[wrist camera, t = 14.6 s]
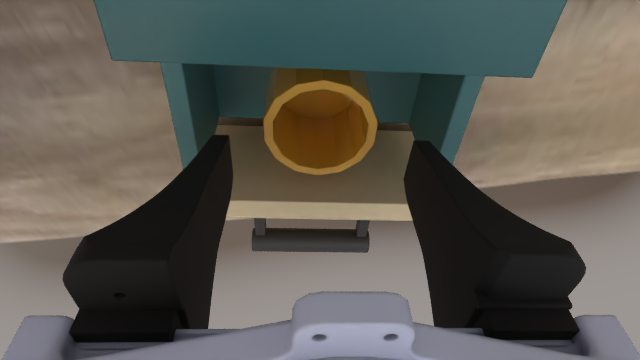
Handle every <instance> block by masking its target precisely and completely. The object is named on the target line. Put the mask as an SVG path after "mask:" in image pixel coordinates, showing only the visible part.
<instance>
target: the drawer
mask: <svg viewBox="0 0 640 360" xmlns="http://www.w3.org/2000/svg"><path fill="white" fill-rule="evenodd" d="M160 64H161V69H162V74H163V78H164V83H165V87H166V92H167V97H168V101H169V106H170V110H171V115H172V120H173V124H174V129H175V133H176V138H177V142H178V147H179V152H180V156H181V161H182V165H183V170H184V169H185V167H186V166H187V165H188V164H189V163H190V162H191V161H192V159H193V158H194V157H195V156H196V155H197V154H198V152H199V151H200V150H201V149H202V147H203V146H204V145H205V143H206V142H207V141H208V139H209V138H210V137H211V136H212V135H229V140H230V149H231V158H232V167H233V184H232V192H231V199H230V203H229V207H228V211H227V215H226V217H230V218H254V222H255V228H253V232H252V250H253V251H285V252H288V251H289V252H291V251H292V252H364V253H365V252H368V250H369V232H368V226H369V221H370V220H399V221H413V220H412V217H411V213H410V210H409V207H408V203H407V199H406V194H405V187H404V180H403V179H404V175H405V171H406V167H407V164H408V160H409V156H410V152H411V149H412V145H413V141H414V140H421V141H430V142H431V143H432V144H433V145H434V146H435V147H436V148H437V149H438V151H439V152H440V153H441V154H442V155H443V156H444V157H445V158H446V159H447V160H448V161H449V162H450V163H451V164H453V162H454V159H455V156H456V153H457V151H458V148H459V145H460V142H461V140H462V137H463V134H464V131H465V129H466V126H467V123H468V120H469V118H470V115H471V112H472V109H473V107H474V104H475V101H476V98H477V96H478V93H479V90H480V87H481V85H482V82H483V79H484V76H475V75H451V74H427V73H403V72H379V71H365V73H366V76H367V80H368V84H369V88H370V92H371V96H372V101H373V105H374V109H375V113H376V117H377V121H378V122H386V123H409V125H410V128H411V130H412V131H386V130H377V131H376V137H375V142H374V145H373V146H372V147H371V149H370V150H369V151H368V152H367V154H366V155H365V156H364V157H363V159H362V160H361V161H360V162H358V163H356V164H354V165H353V166H351V167H349V168H347V169H345V170H343V171H341V172H337V173H331V174H324V175H313V174H307V173H302V172H297V171H295V170H292V169H291V168H289V167H288V166H286V165H284V164H283V163H281V162H280V161H278V160H277V159H276V158H275V157H274V155H273V154H272V152H271V151H270V149H269V147H268V146H267V144H266V143H265V140H264V127H262V126H231V125H217V124H218V121H219V117H236V118H264V111H265V104H266V96H267V88H268V80H269V74H270V71H271V67H258V66H234V65H210V64H186V63H162V62H160ZM266 218H286V219H289V218H290V219H344V220H346V219H347V220H357V225H356V229H299V228H298V229H297V228H266Z"/></svg>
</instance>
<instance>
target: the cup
mask: <svg viewBox="0 0 640 360" xmlns="http://www.w3.org/2000/svg"><path fill="white" fill-rule="evenodd" d="M263 124H264V140H265V143H266V144H267V146H268V147H269V149H270V151H271V152H272V154H273V155H274V157H275V158H276V159H277V160H278V161H280V162H281V163H283V164H284V165H286V166H288V167H289V168H291V169H292V170H295V171H297V172H302V173H307V174H313V175H324V174H331V173H337V172H341V171H343V170H345V169H347V168H349V167H351V166H353V165H354V164H356V163H358V162H360V161H361V160H362V159H363V157H364V156H365V155H366V154H367V152H368V151H369V150H370V149H371V147H372V146H373V145H374V142H375V137H376V131H377V126H378V121H377V117H376V113H375V109H374V105H373V101H372V96H371V92H370V88H369V84H368V80H367V76H366V73H365V71H355V70H330V69H306V68H282V67H271V71H270V74H269V80H268V88H267V96H266V104H265V111H264V119H263Z"/></svg>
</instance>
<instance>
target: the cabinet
mask: <svg viewBox="0 0 640 360" xmlns="http://www.w3.org/2000/svg"><path fill="white" fill-rule="evenodd" d="M566 2H567V0H94V3H95V6H96V9H97V13H98V16H99V19H100V23H101V26H102V29H103V33H104V36H105V39H106V42H107V46H108V49H109V52H110V56H111V59H112V60H114V61H138V62H162V63H186V64H210V65H234V66H258V67H282V68H306V69H330V70H355V71H379V72H403V73H427V74H451V75H475V76H499V77H523V78H532V77H533V75H534V73H535V71H536V68H537V66H538V64H539V62H540V60H541V57H542V55H543V53H544V51H545V49H546V46H547V44H548V42H549V40H550V37H551V35H552V33H553V31H554V29H555V26H556V24H557V22H558V20H559V18H560V15H561V13H562V11H563V9H564V6H565V4H566Z"/></svg>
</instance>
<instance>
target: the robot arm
mask: <svg viewBox="0 0 640 360" xmlns="http://www.w3.org/2000/svg"><path fill="white" fill-rule="evenodd" d="M403 180H404V187H405V194H406V199H407V203H408V207H409V210H410V213H411V217H412V220H413V223H414V226H415V229H416V233H417V236H418V239H419V242H420V246H421V249H422V253H423V258H424V263H425V269H426V274H427V280H428V286H429V291H430V299H431V306H432V313H433V320H434V326H430V325H425V324H420V323H415V322H413V321H412V317H411V313H410V308H409V303H408V300H406V299H405V298H403V297H402V296H401V295H399V294H396V293H389V292H317V293H310V294H308V295H305V296H304V297H302V298H300V299H299V300H297V301H296V303H295V305H294V307H293V315H292V320H287V321H281V322H277V323H271V324H265V325H260V326H255V327H250V328H245V329H208V324H209V315H210V306H211V296H212V288H213V280H214V273H215V265H216V258H217V252H218V247H219V242H220V238H221V235H222V231H223V227H224V223H225V219H226V215H227V211H228V207H229V203H230V199H231V192H232V184H233V167H232V158H231V149H230V140H229V135H212V136H211V137H210V138H209V139H208V141H207V142H206V143H205V145H204V146H203V147H202V149H201V150H200V151H199V152H198V154H197V155H196V156H195V157H194V158H193V159H192V161H191V162H190V163H189V164H188V165H187V166H186V167H185V169H184V170H183V171H182V172H181V173H180V174H179V175H178V176H177V177H176V178H175V179H174V180H173V181H172V182H171V183H170V184H169V185H167V186H166V187H165V188H164V189H163V190H162V191H161V192H159V193H158V194H157V195H156V196H154V197H153V198H152V199H150V200H149V201H148V202H146V203H145V204H143V205H142V206H140V207H139V208H138V209H136V210H135V211H133V212H131V213H130V214H128V215H126V216H125V217H123V218H121V219H120V220H118V221H116V222H114V223H112V224H110V225H108V226H106V227H104V228H102V229H100V230H98V231H96V232H94V233H92V234H90V235H87V236H85V237H84V238H83V240H82V241H81V243H80V244H79V246H78V247H77V249H76V251H75V252H74V254H73V256H72V258H71V260H70V262H69V264H68V266H67V268H66V270H65V272H64V274H63V282H64V285H65V287H66V288H67V290H68V291H69V293H70V295H71V296H72V298H73V300H74V301H75V303H76V304H77V306H78V307H79V311H78V314H77V316H76V318H75V320H74V319H72V318H70V317H67V316H27V317H25V318H24V320H23V322H22V323H21V325H20V327H19V329H18V331H17V332H16V334H15V336H14V338H13V340H12V342H11V343H10V345H9V347H8V349H7V351H6V352H5V354H4V356H3V358H2V360H640V354H639V353H638V351H637V349H636V348H635V346H634V345H633V343H632V341H631V340H630V338H629V337H628V335H627V333H626V332H625V330H624V329H623V327H622V326H621V324H620V322H619V321H618V319H617V318H616V316H614V315H583V316H578V317H575V318H574V319H573V317H572V315H571V313H570V311H569V309H571V308H572V303H571V302H570V300H569V298H568V295H569V294H570V293H571V292H572V291H573V289H574V288H575V287H576V286H577V284H579V282H580V281H581V280H582V278H583V276H584V274H585V271H586V267H585V264H584V262H583V260H582V259H581V257H580V256H579V254H578V252H577V251H576V249H575V248H574V246H573V245H572V243H571V242H569V241H567V240H565V239H562V238H560V237H558V236H555V235H553V234H551V233H549V232H546V231H544V230H542V229H540V228H538V227H536V226H535V225H532V224H530V223H529V222H527V221H525V220H523V219H522V218H520V217H518V216H516V215H515V214H513V213H512V212H510V211H508V210H507V209H505V208H504V207H502V206H500V205H499V204H498V203H496V202H495V201H494V200H492V199H491V198H490V197H488V196H487V195H485V194H484V193H483V192H482V191H480V190H479V189H478V188H477V187H476V186H474V185H473V184H472V183H471V182H470V181H469V180H468V179H467V178H465V177H464V176H463V175H462V174H461V173H460V172H459V171H458V170H457V169H456V168H455V167H454V166H453V165H452V164H451V163H450V162H449V161H448V160H447V159H446V158H445V157H444V156H443V155H442V154H441V153H440V152H439V151H438V149H437V148H436V147H435V146H434V145H433V144H432V143H431V142H430V141H421V140H414V141H413V145H412V149H411V152H410V156H409V160H408V164H407V167H406V171H405V175H404V179H403Z"/></svg>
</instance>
